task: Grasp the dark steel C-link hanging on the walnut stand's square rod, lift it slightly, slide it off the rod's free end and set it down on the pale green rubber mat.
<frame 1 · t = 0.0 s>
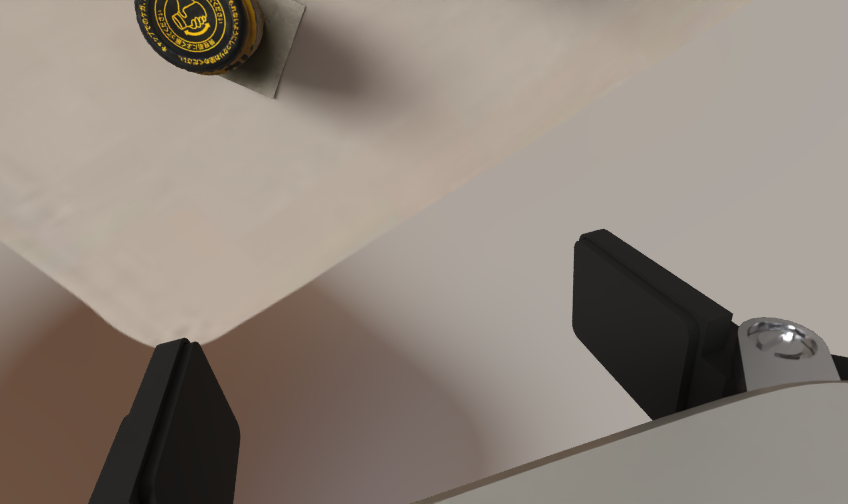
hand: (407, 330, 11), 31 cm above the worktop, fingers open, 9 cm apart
condiment: (232, 26, 34), on the worktop
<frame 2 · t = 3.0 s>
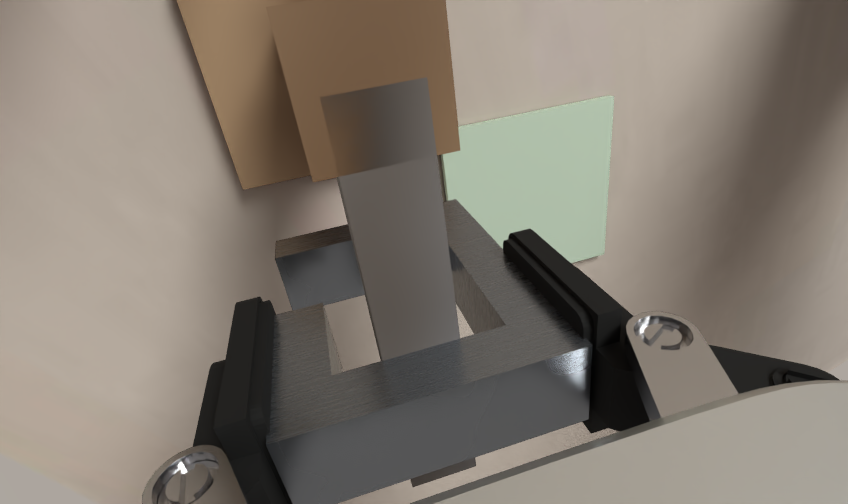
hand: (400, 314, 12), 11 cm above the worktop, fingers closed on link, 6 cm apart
mat: (528, 198, 24), on the worktop
link: (374, 246, 15), point 7 cm above the worktop, touching gripper, stand
stand: (318, 42, 19), on the worktop
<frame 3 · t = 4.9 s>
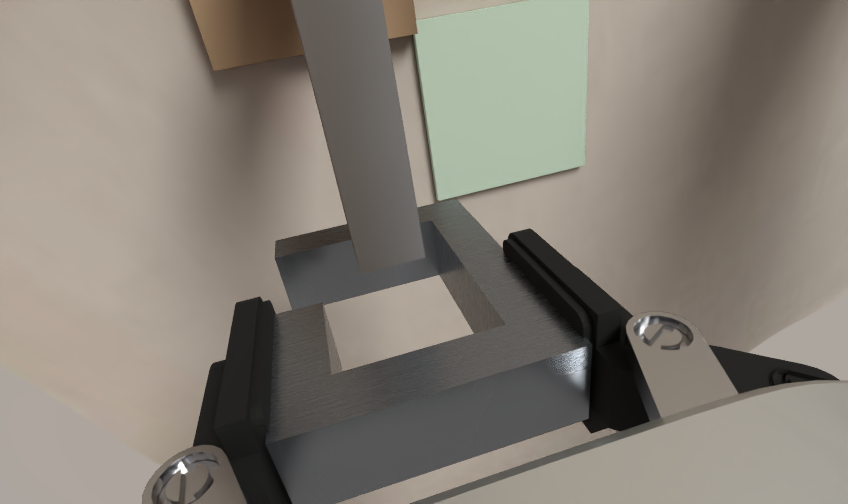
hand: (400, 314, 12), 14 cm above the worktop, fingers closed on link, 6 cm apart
mat: (506, 100, 24), on the worktop
link: (374, 245, 15), point 10 cm above the worktop, touching gripper
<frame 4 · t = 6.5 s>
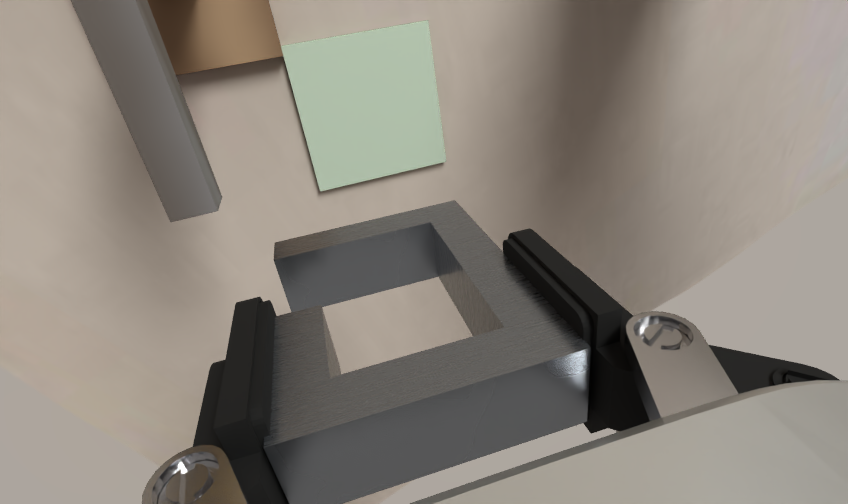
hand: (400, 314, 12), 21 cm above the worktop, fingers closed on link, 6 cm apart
mat: (370, 108, 30), on the worktop
link: (373, 247, 15), point 17 cm above the worktop, touching gripper
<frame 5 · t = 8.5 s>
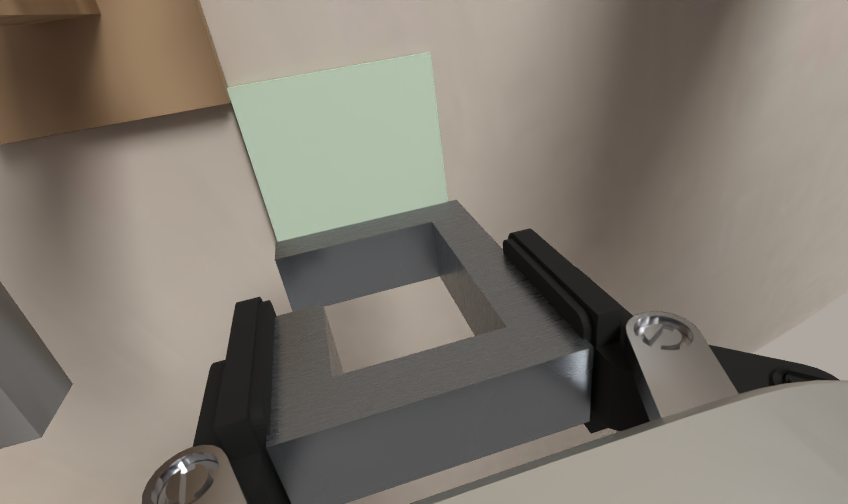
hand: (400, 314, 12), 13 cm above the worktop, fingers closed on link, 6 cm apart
mat: (352, 165, 23), on the worktop
link: (374, 247, 15), point 9 cm above the worktop, touching gripper
when the fingers open (6 cm above the worktop, at t = 10.3 s): link drops 1 cm, resting on mat.
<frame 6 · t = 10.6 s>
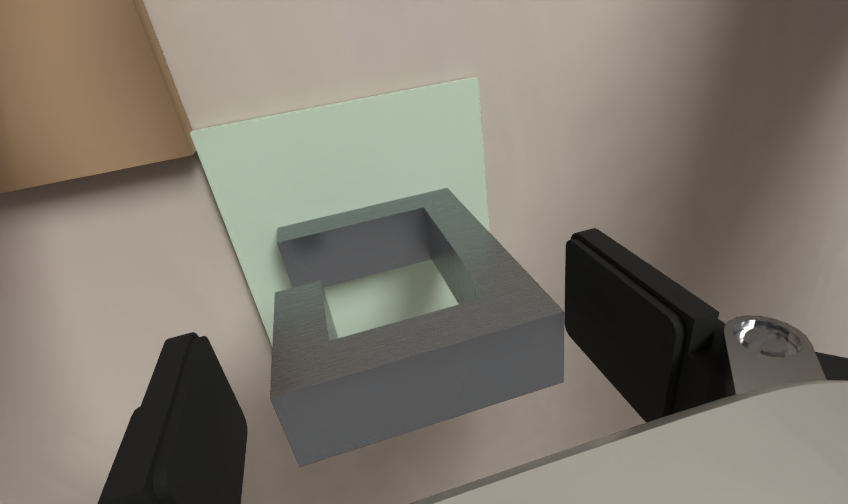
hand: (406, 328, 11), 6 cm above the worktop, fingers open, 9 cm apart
mat: (367, 228, 17), on the worktop
link: (370, 232, 16), resting on mat
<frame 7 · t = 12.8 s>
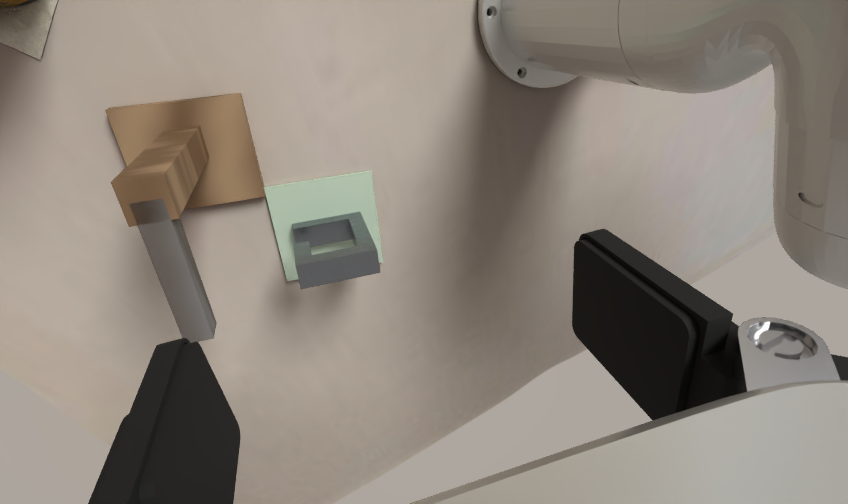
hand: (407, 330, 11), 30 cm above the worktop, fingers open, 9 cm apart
mat: (327, 226, 41), on the worktop
link: (328, 227, 41), resting on mat
stand: (189, 140, 35), on the worktop
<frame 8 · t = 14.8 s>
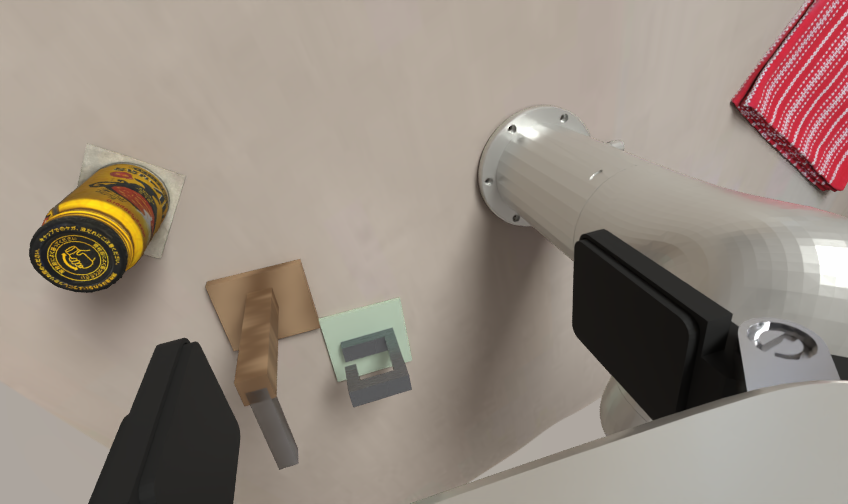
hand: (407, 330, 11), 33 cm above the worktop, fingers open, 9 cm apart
mat: (367, 339, 52), on the worktop
condiment: (127, 203, 40), on the worktop
link: (368, 341, 52), resting on mat
stand: (263, 295, 46), on the worktop
dish towel: (824, 88, 54), on the worktop
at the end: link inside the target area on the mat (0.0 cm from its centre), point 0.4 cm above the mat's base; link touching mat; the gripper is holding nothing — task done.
